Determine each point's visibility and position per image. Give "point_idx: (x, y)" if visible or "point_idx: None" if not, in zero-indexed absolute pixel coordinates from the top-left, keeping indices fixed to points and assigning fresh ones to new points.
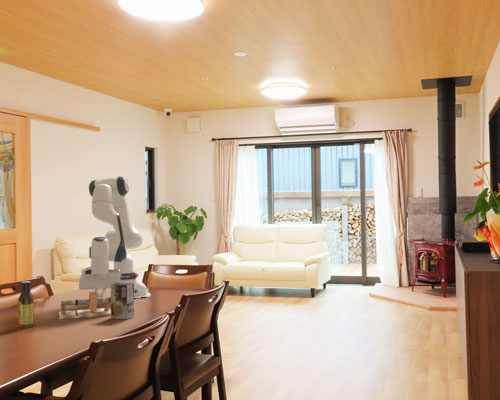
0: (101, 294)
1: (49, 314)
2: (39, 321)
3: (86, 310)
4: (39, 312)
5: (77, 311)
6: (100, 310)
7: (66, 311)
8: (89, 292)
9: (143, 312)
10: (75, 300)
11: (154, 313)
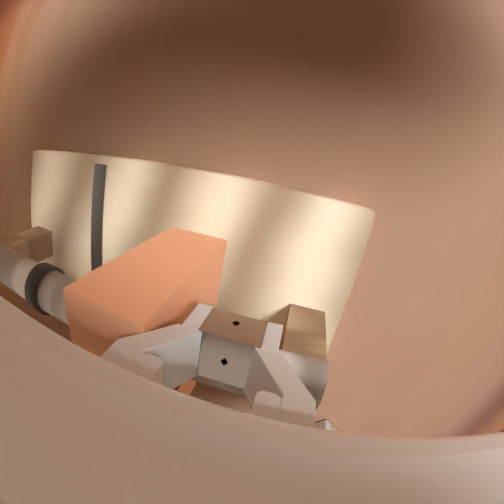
0: (241, 385)
1: (17, 157)
2: (7, 288)
3: (162, 213)
4: (6, 89)
5: (104, 214)
6: (265, 283)
7: (57, 175)
8: (68, 312)
9: (468, 404)
10: (29, 300)
11: (473, 433)
